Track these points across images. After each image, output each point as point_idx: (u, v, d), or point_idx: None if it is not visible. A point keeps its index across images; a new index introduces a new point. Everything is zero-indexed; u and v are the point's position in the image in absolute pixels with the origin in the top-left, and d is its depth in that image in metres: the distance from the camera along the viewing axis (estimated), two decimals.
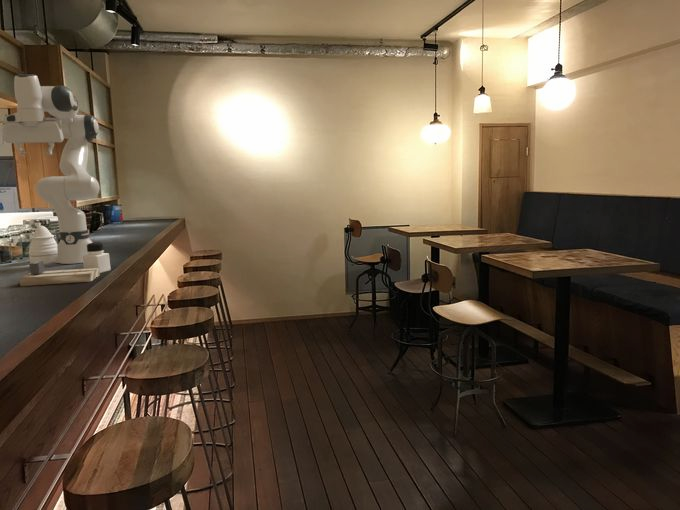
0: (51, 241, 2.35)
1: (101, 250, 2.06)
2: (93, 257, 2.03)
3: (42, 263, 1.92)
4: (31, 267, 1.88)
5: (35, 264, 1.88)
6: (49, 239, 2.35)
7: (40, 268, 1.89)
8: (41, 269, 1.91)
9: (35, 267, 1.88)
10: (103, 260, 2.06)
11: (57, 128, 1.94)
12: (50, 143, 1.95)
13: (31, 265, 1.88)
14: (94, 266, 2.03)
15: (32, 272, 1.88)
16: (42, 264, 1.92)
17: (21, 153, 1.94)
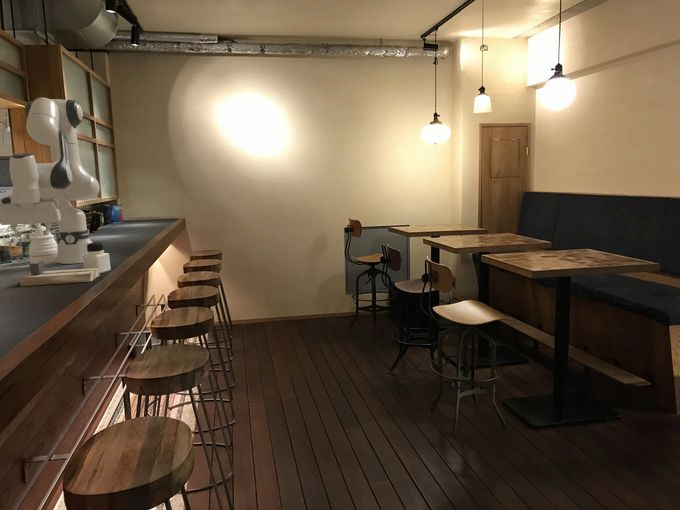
0: (51, 241, 2.35)
1: (101, 250, 2.06)
2: (93, 257, 2.03)
3: (42, 263, 1.92)
4: (31, 267, 1.88)
5: (35, 264, 1.88)
6: (49, 239, 2.35)
7: (40, 268, 1.89)
8: (41, 269, 1.91)
9: (35, 267, 1.88)
10: (103, 260, 2.06)
11: (54, 209, 1.87)
12: (47, 224, 1.88)
13: (31, 265, 1.88)
14: (94, 266, 2.03)
15: (32, 272, 1.88)
16: (42, 264, 1.92)
17: (16, 235, 1.87)
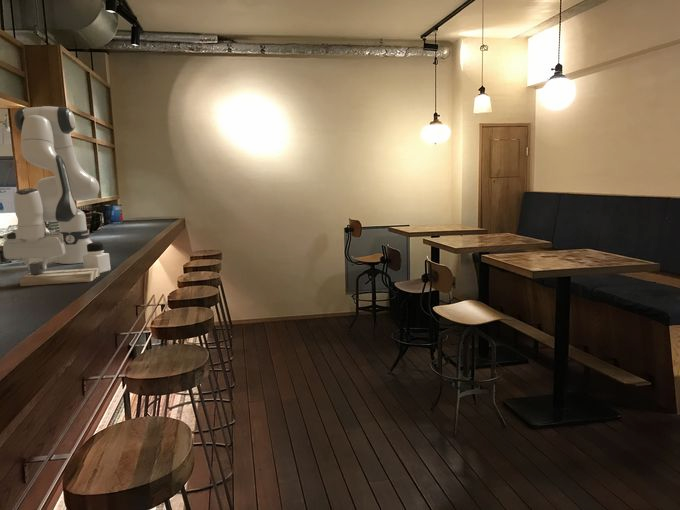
0: None
1: (101, 250, 2.06)
2: (93, 257, 2.03)
3: (42, 263, 1.92)
4: (31, 267, 1.88)
5: (35, 264, 1.88)
6: None
7: (40, 268, 1.89)
8: (41, 269, 1.91)
9: (35, 267, 1.88)
10: (103, 260, 2.06)
11: (59, 243, 1.89)
12: (44, 258, 1.89)
13: (31, 265, 1.88)
14: (94, 266, 2.03)
15: (32, 272, 1.88)
16: None
17: (29, 269, 1.89)
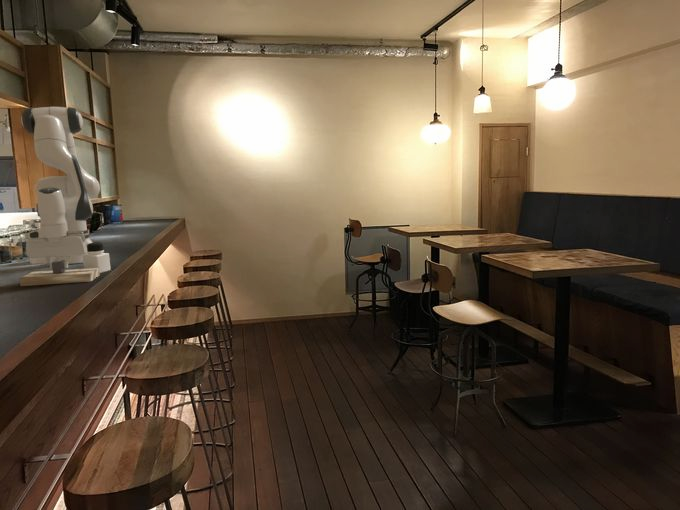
0: None
1: (101, 250, 2.06)
2: (93, 257, 2.03)
3: (64, 262, 1.93)
4: (53, 266, 1.89)
5: (57, 263, 1.89)
6: None
7: (62, 267, 1.91)
8: (63, 268, 1.92)
9: (57, 266, 1.89)
10: (103, 260, 2.06)
11: (81, 242, 1.90)
12: (66, 257, 1.91)
13: (53, 264, 1.89)
14: (94, 266, 2.03)
15: (54, 271, 1.89)
16: (64, 262, 1.93)
17: (51, 267, 1.91)
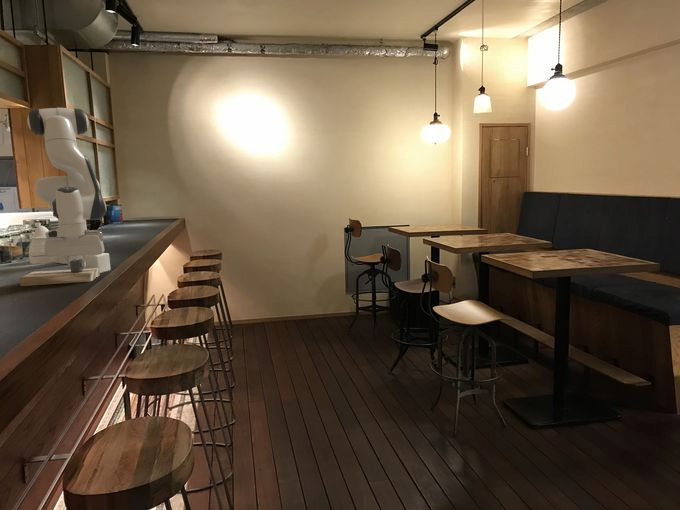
0: None
1: None
2: (93, 257, 2.03)
3: (81, 261, 1.94)
4: (71, 265, 1.90)
5: (75, 262, 1.90)
6: None
7: (80, 266, 1.92)
8: (81, 267, 1.93)
9: (75, 265, 1.90)
10: (103, 260, 2.06)
11: (98, 241, 1.91)
12: (84, 256, 1.92)
13: (71, 263, 1.90)
14: (94, 266, 2.03)
15: (72, 270, 1.90)
16: (81, 261, 1.94)
17: (69, 266, 1.92)
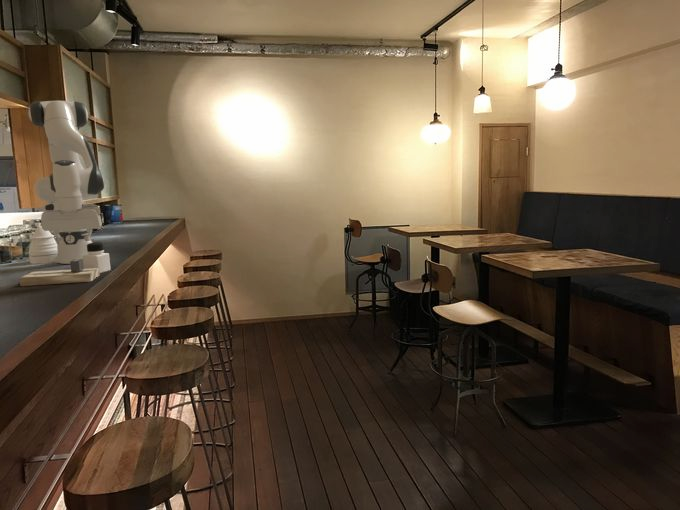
0: (51, 241, 2.35)
1: (101, 250, 2.06)
2: (93, 257, 2.03)
3: (82, 261, 1.94)
4: (72, 265, 1.90)
5: (76, 262, 1.90)
6: (49, 239, 2.35)
7: (80, 266, 1.92)
8: (81, 267, 1.93)
9: (75, 265, 1.90)
10: (103, 260, 2.06)
11: (96, 215, 1.90)
12: (88, 230, 1.91)
13: (72, 263, 1.90)
14: (94, 266, 2.03)
15: (72, 270, 1.90)
16: (81, 261, 1.94)
17: (59, 241, 1.90)
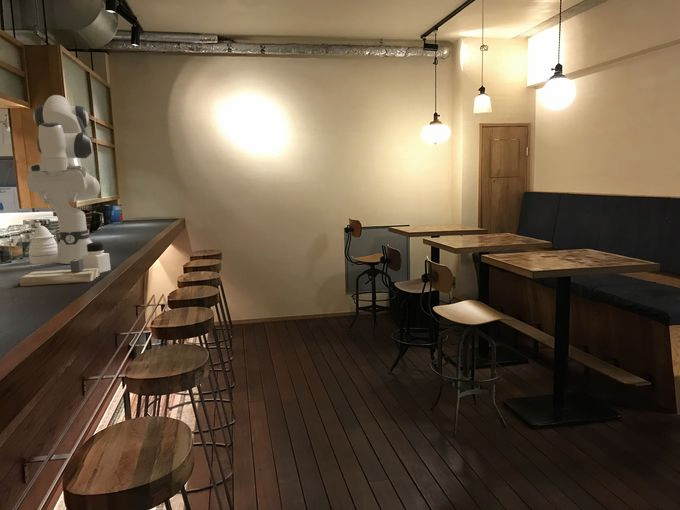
0: (51, 241, 2.35)
1: (101, 250, 2.06)
2: (93, 257, 2.03)
3: (82, 261, 1.94)
4: (72, 265, 1.90)
5: (76, 262, 1.90)
6: (49, 239, 2.35)
7: (80, 266, 1.92)
8: (81, 267, 1.93)
9: (75, 265, 1.90)
10: (103, 260, 2.06)
11: (81, 176, 1.94)
12: (74, 191, 1.95)
13: (72, 263, 1.90)
14: (94, 266, 2.03)
15: (72, 270, 1.90)
16: (81, 261, 1.94)
17: (45, 202, 1.94)
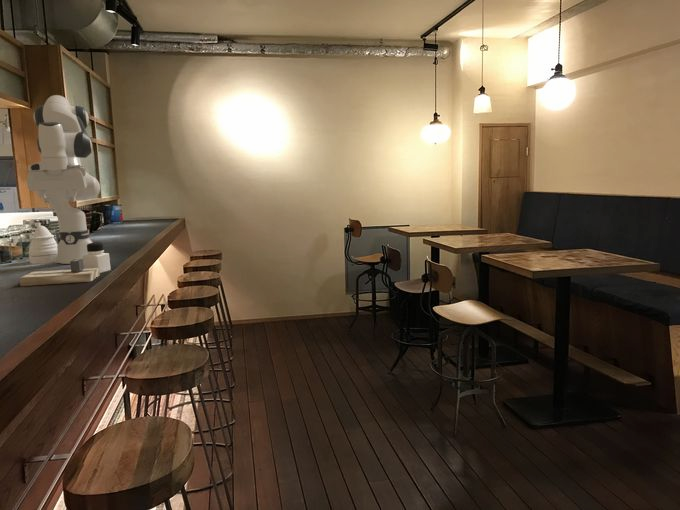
0: (51, 241, 2.35)
1: (101, 250, 2.06)
2: (93, 257, 2.03)
3: (82, 261, 1.94)
4: (72, 265, 1.90)
5: (76, 262, 1.90)
6: (49, 239, 2.35)
7: (80, 266, 1.92)
8: (81, 267, 1.93)
9: (75, 265, 1.90)
10: (103, 260, 2.06)
11: (81, 176, 1.94)
12: (74, 190, 1.95)
13: (72, 263, 1.90)
14: (94, 266, 2.03)
15: (72, 270, 1.90)
16: (81, 261, 1.94)
17: (44, 201, 1.94)
